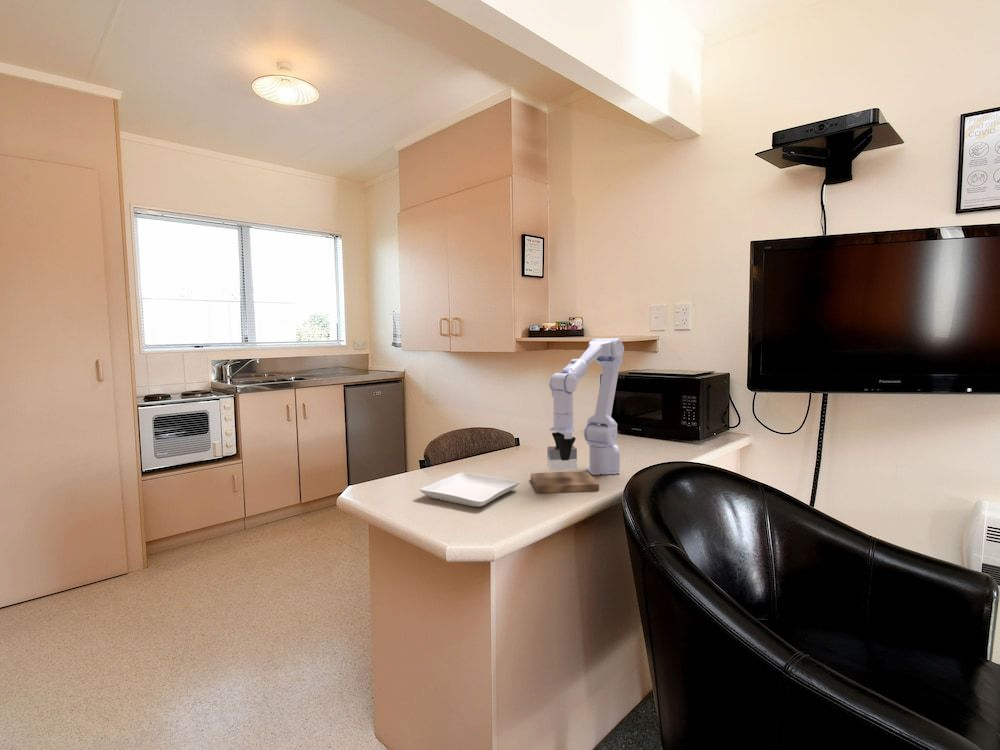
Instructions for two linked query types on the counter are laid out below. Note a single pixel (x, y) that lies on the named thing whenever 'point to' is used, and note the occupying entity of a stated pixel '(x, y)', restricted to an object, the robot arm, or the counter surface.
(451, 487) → the salad plate
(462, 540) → the counter surface
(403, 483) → the counter surface
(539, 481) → the walnut board
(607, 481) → the counter surface
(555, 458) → the housing
